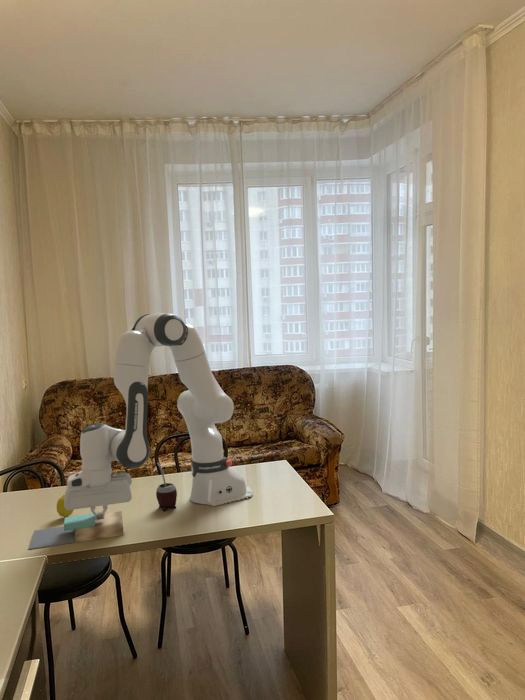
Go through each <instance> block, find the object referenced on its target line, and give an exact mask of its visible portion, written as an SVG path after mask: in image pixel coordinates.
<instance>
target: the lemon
mask: <svg viewBox="0 0 525 700" xmlns="http://www.w3.org/2000/svg"><path fill="white" fill-rule="evenodd" d="M64 499H65V494H63V495H62V496H60V497H59V499H57V502H56V512H57V514H58V515H59V516H61V517H62V518H64V519H65V518H66V517H71V515H72V514H73V513H74V510H66V509H65V507H64Z"/></svg>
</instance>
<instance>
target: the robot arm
mask: <svg viewBox="0 0 525 700" xmlns="http://www.w3.org/2000/svg"><path fill="white" fill-rule="evenodd" d="M133 324H134V325H133V327H132V329H131V330H127V331H125V332H123V333H122V334H121V336H120V338H119V341H118V343H117V348H116V351H115V356H114V363H113V373H112V374H113V384H114V385H115V387H116V389H117V390H118V391H119V392H120V394H121V395H122V397H123V399H124V402H125V406H126V416H125V429H120V428H115V427H112V426H110V425H107V424H106V423H105V422H99V423H98V422H97V423H92V424H90V425H87V426H86V427H84V428H83V429H82V430H81V432H80V438H79V439H80V440H79V441H80V442H79V448H80V450H79V451H80V457H81V461H82V462H81V470H80V471H77V472H75V473H72V474H71V475H69V476H68V478H67V480H66V485H67V486H66V488H65V493H64V495H65V499H64V507H65V509H66V510H73V511H74V510H79V509H86V508H87V509H88V508H90V512H91V513H93V514H94V515H95V520H100V519H105V515H104V514H105V513H107V510H108V505H109V506H110V505H116V504H124V503H125V504H126V503H130V502H131V501H132V499H133V498H132V489H131V485H132V482H133V481H132V476H131V475H130V473H127V472H121V473H118V472H117V473H112V462H113V461H117V462H118V463H119V464H121V466H123V467H125V468H126V469H131V470H132V469H138V468H140V467H142V466H143V465H144V464H145V463H146V462H147V460H148V459H149V457H150V454H151V446H150V445H151V444H150V442H149V439H148V431H147V429H148V406H149V404H148V402H149V401H148V400H149V399H148V396H149V395H148V388H149V387H148V384H149V383H148V382H149V372H150V361H151V360H150V359H151V355H152V353H153V350H154V348H156V347H163V346H164V347H169V349H170V350H171V352H172V353H171V354H172V357H173V360H174V361H173V362H174V364H175V367H176V371H177V373H178V377H179V379H180V382H181V383H182V384H183V385H185V386H186V388H187V390H184V391H183V392H181V393H180V394H179V396H178V398H177V401H176V404H177V409H178V412H179V413H180V414H181V415H182V417H183V419H184V421H185V424H186V427H187V431H188V433H189V438H190V443H191V459H190V460H191V461H190V462H191V463H190V470H191V471H190V472H191V476H192V484H191V491H190V492H191V493H190V496H189V501H191V502H192V503H196V504H200V505H208V506H214V507H216V506H219V505H223V504H224V503H225V504H228V503H227V502H229V503H232V502H231V501H234V502H236V501H235V500H238V501H241V500H240V499H243V500H245V499H244V498H247V497H251V496H253V495H252V494H253V491H252V489H251V488H250V487H249V486H248V485H246V481H245V479H244V476H242V474H241V473H239V472H238V471H236V470H235V469H233V468H232V466H233V461H232V460H231V459H229V458H228V457H226V456H224V453H223V452H224V450H223V447H224V446H223V438H222V434H221V433H220V431H219V430H218V429H217V427H216V425H215V424H222V423H225V422H227V421H229V420H230V419H231V418H232V416H233V413H234V410H235V405H234V401H233V399H232V398H231V397H230V396H229V395H228V394H227V393H225V392H224V390H223V389H222V387H221V386H220V384H219V383H218V381H217V379H216V378H215V376H214V374H213V372H212V369H211V367H210V363H209V361H208V357H207V354H206V351H205V347H204V345H203V341H202V340H201V337H200V335H199V332H198V330H197V329H196V327H195V326H194V325H192V324H189V323H185V322H184V321H183V319H182V318H180V316H178V315H176V314H174V313H171V312H169V313H168V312H167V313H166V312H154V313H147V314H144V315H141V316H140V317H139V318H137V320H135V322H134V323H133ZM251 498H252V497H251ZM247 499H248V498H247ZM101 506H102V509H103V510H102V511H101V512H97V511H96V507H101Z"/></svg>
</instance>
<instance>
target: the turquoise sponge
mask: <svg viewBox="0 0 525 700" xmlns="http://www.w3.org/2000/svg"><path fill="white" fill-rule="evenodd" d="M63 526H64V531H68V530H74V529H80V528H86V527H92V526H95V515H94V514H93V513H92V512H91V513H87V514H80V515H75V516H68V517H66V518H65V517H64V522H63Z"/></svg>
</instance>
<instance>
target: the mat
mask: <svg viewBox="0 0 525 700" xmlns="http://www.w3.org/2000/svg"><path fill="white" fill-rule="evenodd" d="M75 530H76V529H74V530H68V531H64V525H63V526H56V527H49V528H42V529H37V530H36V529H35V530H34V531H33V534H32V537H31V541H30V543H29V547H28V550H36V549H42V548H49V547H56V546H61V545H68V544H69V545H70V544H74V543H76V542H75Z"/></svg>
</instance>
